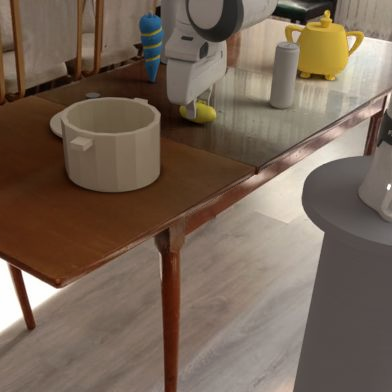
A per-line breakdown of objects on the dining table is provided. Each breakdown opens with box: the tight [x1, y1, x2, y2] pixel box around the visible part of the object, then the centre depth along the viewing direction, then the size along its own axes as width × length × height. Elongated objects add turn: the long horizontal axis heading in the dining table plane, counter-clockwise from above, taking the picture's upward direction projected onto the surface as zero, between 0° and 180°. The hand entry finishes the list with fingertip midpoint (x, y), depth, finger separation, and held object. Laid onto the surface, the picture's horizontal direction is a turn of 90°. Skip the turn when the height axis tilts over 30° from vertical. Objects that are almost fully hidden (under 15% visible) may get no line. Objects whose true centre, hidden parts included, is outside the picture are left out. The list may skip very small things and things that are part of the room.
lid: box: [49, 92, 101, 139], centre depth 118 cm, size 17×17×6 cm
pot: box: [60, 96, 162, 193], centre depth 104 cm, size 16×21×9 cm
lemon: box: [179, 101, 217, 125], centre depth 123 cm, size 4×8×4 cm, turn 56°
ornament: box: [138, 7, 164, 83], centre depth 135 cm, size 5×5×15 cm
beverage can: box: [269, 40, 300, 110], centre depth 128 cm, size 5×5×12 cm
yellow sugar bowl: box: [284, 9, 365, 81], centre depth 145 cm, size 14×14×12 cm
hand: (197, 113), depth 123 cm, fingers closed on lemon, 4 cm apart
